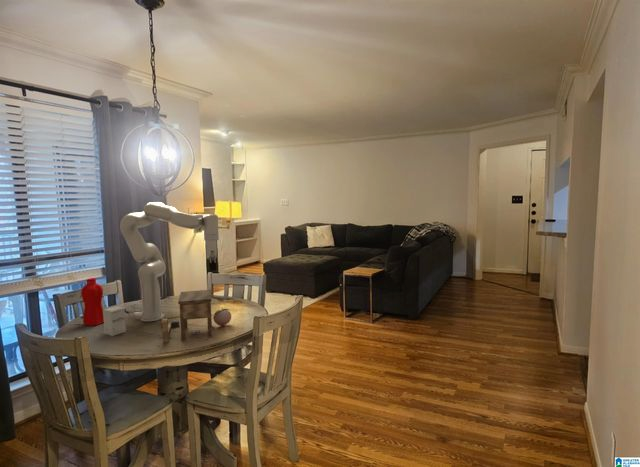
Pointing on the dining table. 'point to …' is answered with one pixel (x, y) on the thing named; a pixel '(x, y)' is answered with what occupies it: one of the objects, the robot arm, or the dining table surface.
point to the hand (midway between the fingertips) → (212, 268)
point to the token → (195, 332)
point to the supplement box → (114, 320)
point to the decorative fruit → (222, 317)
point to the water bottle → (92, 303)
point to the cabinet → (195, 309)
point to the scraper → (167, 328)
